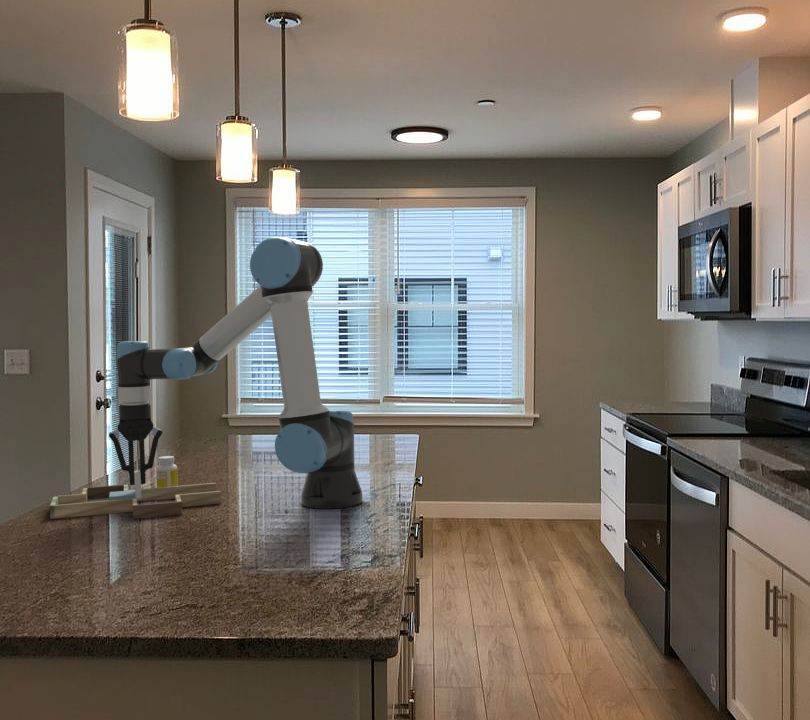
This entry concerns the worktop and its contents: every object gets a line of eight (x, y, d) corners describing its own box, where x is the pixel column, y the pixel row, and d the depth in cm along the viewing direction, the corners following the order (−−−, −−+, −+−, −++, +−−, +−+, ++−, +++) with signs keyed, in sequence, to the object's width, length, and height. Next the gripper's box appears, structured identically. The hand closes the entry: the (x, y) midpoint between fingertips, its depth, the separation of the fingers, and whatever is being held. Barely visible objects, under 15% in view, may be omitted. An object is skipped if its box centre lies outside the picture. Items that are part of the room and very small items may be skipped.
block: (135, 508, 204) (135, 494, 204) (109, 511, 202) (109, 496, 202) (135, 503, 210) (135, 490, 209) (110, 505, 208) (109, 492, 208)
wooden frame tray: (224, 510, 200) (224, 498, 200) (47, 526, 187) (46, 513, 187) (213, 488, 226) (212, 477, 226) (56, 501, 214) (56, 489, 214)
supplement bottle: (177, 490, 224) (176, 454, 224) (179, 494, 219) (178, 457, 218) (156, 492, 222) (155, 456, 222) (158, 496, 217) (156, 459, 217)
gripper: (161, 400, 211) (164, 492, 212) (107, 403, 207) (110, 496, 208) (162, 403, 204) (166, 498, 205) (106, 406, 200) (110, 502, 201)
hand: (138, 497), depth 207 cm, fingers closed
